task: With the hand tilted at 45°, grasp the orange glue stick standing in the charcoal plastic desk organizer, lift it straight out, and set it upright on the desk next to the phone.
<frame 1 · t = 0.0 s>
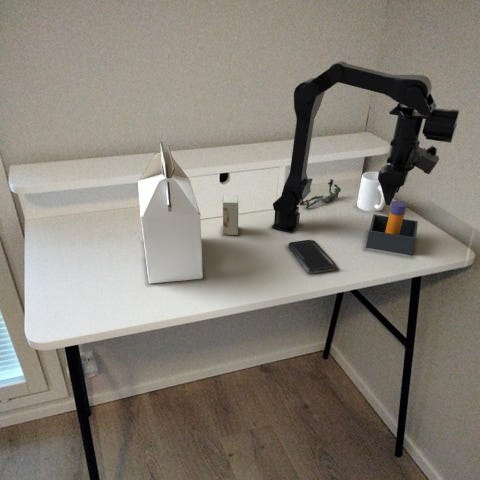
hand: (391, 198, 120), 15 cm above the table, tool pointing down, fingers open, 9 cm apart
glue stick: (390, 242, 131), point 1 cm above the table, touching organizer
organizer: (389, 244, 131), on the table
zombie figurine: (322, 202, 153), on the table
gable box: (172, 259, 122), on the table
mug: (371, 210, 149), on the table
phone: (310, 258, 124), on the table
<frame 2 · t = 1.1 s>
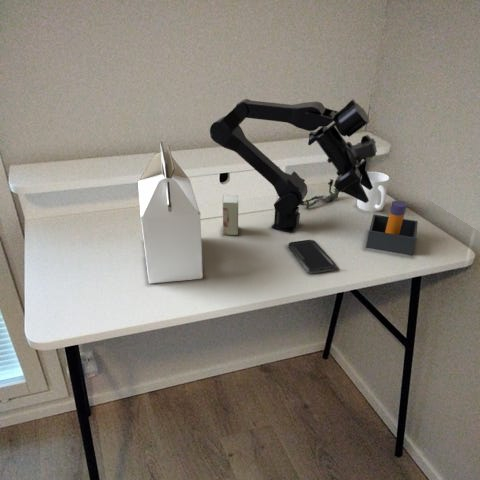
hand: (369, 195, 125), 13 cm above the table, tool tilted 45°, fingers open, 9 cm apart
nothing on the table moved.
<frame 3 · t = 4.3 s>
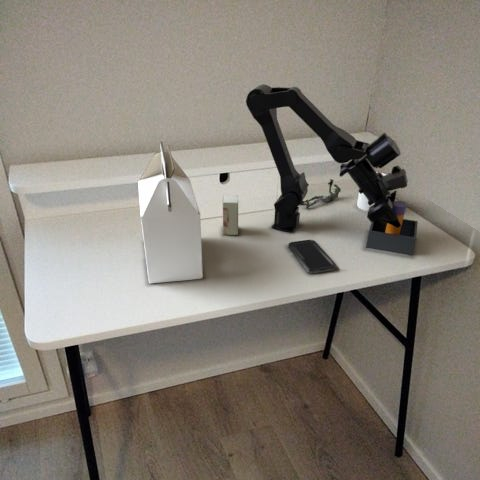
hand: (399, 223, 127), 7 cm above the table, tool tilted 45°, fingers closed on glue stick, 4 cm apart
glue stick: (390, 242, 131), point 1 cm above the table, touching gripper, organizer
everything else where it was.
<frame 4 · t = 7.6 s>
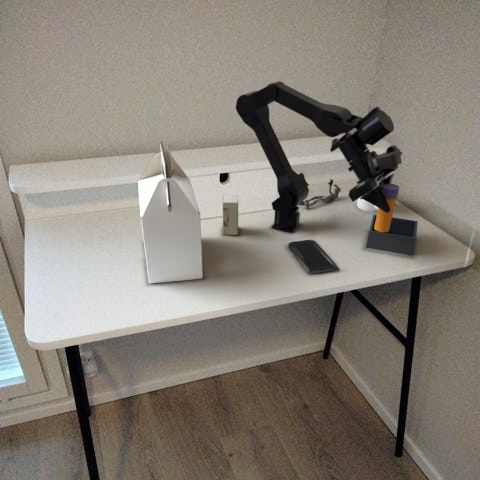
hand: (391, 208, 117), 14 cm above the table, tool tilted 45°, fingers closed on glue stick, 4 cm apart
glue stick: (381, 228, 122), point 8 cm above the table, touching gripper
everything else where it was.
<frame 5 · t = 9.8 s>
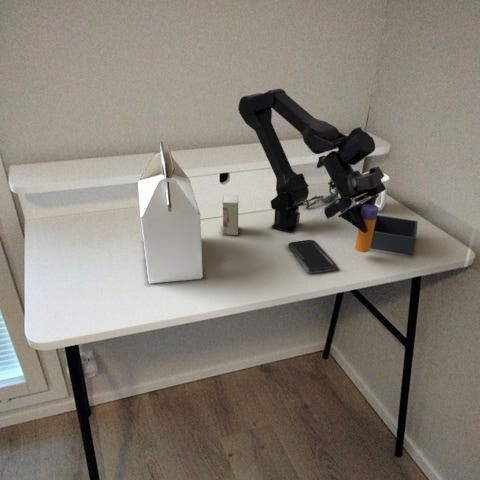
hand: (370, 229, 117), 10 cm above the table, tool tilted 45°, fingers closed on glue stick, 4 cm apart
glue stick: (362, 248, 121), point 4 cm above the table, touching gripper
everything else where it was.
when the fingers open (6 cm above the table, at t = 11.2 s): glue stick stays where it is, on the table.
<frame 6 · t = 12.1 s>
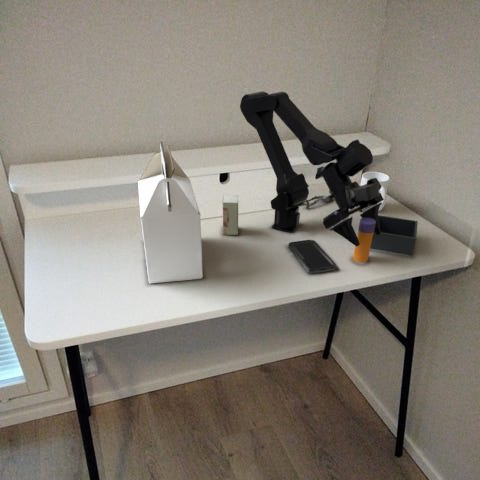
hand: (368, 239, 119), 7 cm above the table, tool tilted 45°, fingers open, 9 cm apart
glue stick: (360, 260, 123), on the table
everything else where it was.
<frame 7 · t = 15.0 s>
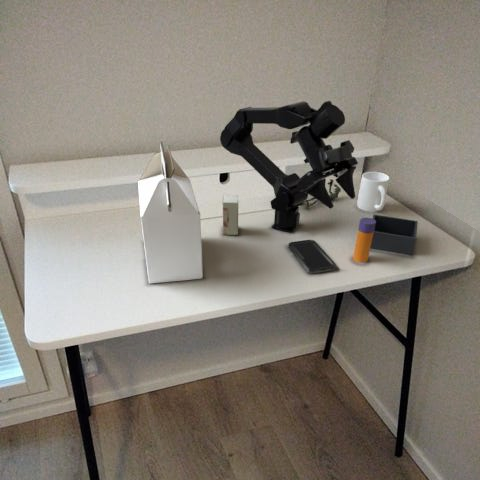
hand: (343, 202, 120), 14 cm above the table, tool tilted 45°, fingers open, 9 cm apart
nothing on the table moved.
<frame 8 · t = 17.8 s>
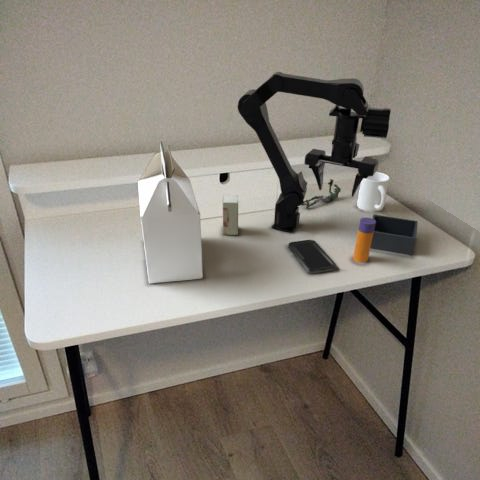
hand: (336, 192, 129), 12 cm above the table, tool pointing down, fingers open, 9 cm apart
nothing on the table moved.
at the end: glue stick inside the target area (0.1 cm from its centre), on the table; glue stick tilted 0°; glue stick 13.1 cm from the phone (horizontally) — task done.
